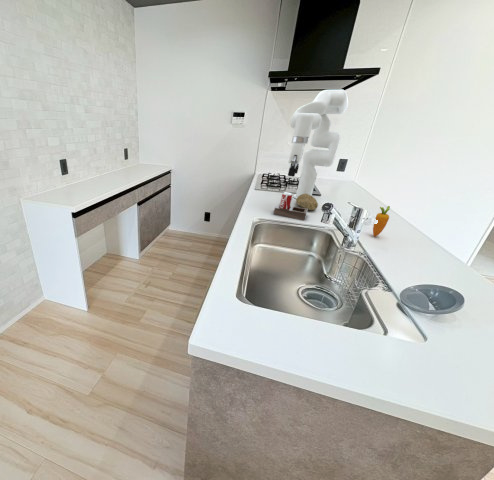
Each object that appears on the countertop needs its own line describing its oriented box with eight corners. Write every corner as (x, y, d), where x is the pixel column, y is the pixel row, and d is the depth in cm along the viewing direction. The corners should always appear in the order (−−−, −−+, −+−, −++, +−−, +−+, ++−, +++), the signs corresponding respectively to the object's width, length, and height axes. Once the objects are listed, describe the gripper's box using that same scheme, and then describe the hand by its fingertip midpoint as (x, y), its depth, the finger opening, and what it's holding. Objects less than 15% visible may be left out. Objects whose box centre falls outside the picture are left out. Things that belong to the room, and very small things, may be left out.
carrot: (371, 238, 120) (383, 207, 113) (366, 233, 124) (378, 203, 117) (383, 239, 119) (396, 208, 112) (378, 235, 123) (390, 204, 116)
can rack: (276, 210, 152) (278, 203, 151) (306, 215, 145) (308, 208, 143) (273, 214, 145) (274, 207, 144) (304, 220, 138) (306, 213, 136)
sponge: (296, 202, 170) (291, 204, 153) (301, 191, 167) (297, 191, 150) (316, 210, 164) (313, 213, 148) (322, 198, 161) (320, 200, 145)
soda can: (288, 215, 144) (293, 194, 139) (279, 214, 145) (283, 194, 140) (287, 212, 149) (291, 192, 143) (277, 211, 150) (281, 191, 144)
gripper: (294, 139, 139) (287, 171, 146) (289, 140, 125) (282, 176, 132) (310, 139, 135) (302, 173, 143) (306, 141, 122) (297, 178, 129)
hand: (292, 174), depth 138 cm, fingers open, 9 cm apart
